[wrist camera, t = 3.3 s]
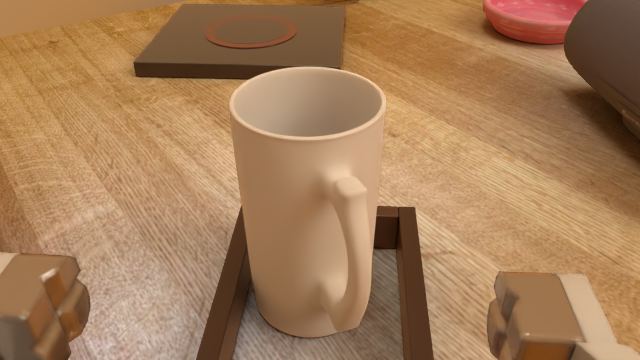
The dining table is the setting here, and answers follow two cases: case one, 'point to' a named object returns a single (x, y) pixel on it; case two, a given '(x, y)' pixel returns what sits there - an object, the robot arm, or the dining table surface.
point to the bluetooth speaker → (609, 53)
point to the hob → (244, 41)
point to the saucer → (532, 18)
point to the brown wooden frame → (390, 232)
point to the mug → (309, 193)
